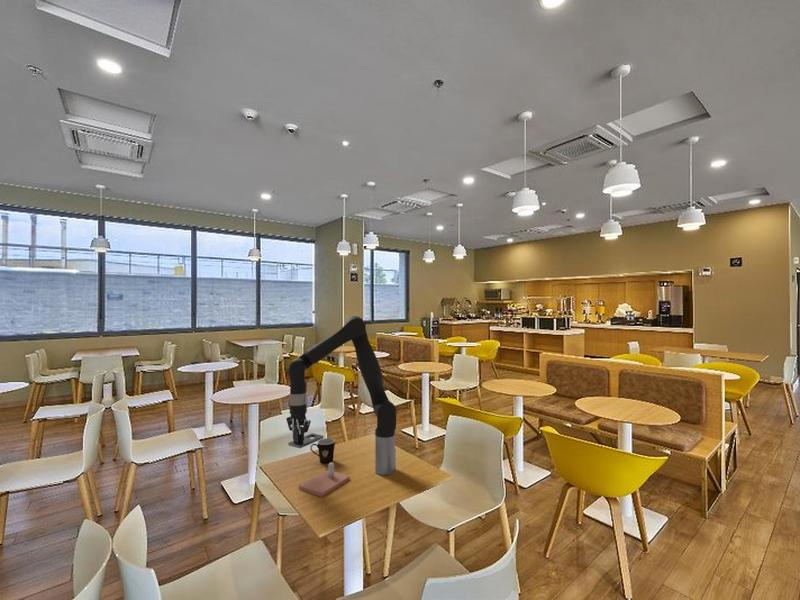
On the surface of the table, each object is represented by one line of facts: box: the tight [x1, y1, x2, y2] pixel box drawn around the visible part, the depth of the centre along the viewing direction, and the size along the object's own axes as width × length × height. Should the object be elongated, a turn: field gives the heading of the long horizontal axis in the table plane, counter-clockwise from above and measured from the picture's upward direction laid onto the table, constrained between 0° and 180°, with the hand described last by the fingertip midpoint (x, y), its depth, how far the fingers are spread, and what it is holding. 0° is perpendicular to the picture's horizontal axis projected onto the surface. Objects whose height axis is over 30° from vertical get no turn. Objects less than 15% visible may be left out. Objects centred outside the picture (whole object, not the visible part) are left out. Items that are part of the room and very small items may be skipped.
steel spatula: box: [288, 427, 324, 449], centre depth 171 cm, size 15×7×7 cm, turn 148°
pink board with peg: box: [298, 462, 351, 498], centre depth 162 cm, size 18×13×8 cm
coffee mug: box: [309, 438, 336, 465], centre depth 186 cm, size 12×9×10 cm
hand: (298, 440), depth 167 cm, fingers closed on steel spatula, 3 cm apart
